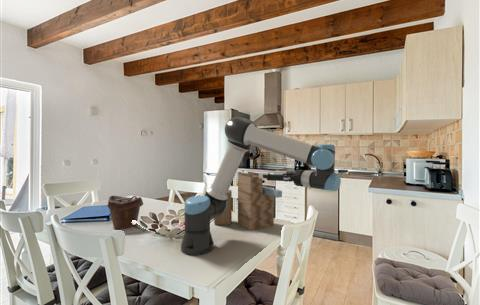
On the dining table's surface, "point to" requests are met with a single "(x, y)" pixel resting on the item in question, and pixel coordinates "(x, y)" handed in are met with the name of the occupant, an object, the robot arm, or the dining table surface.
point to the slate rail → (272, 192)
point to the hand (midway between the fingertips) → (267, 174)
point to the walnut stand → (254, 202)
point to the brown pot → (124, 210)
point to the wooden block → (225, 212)
